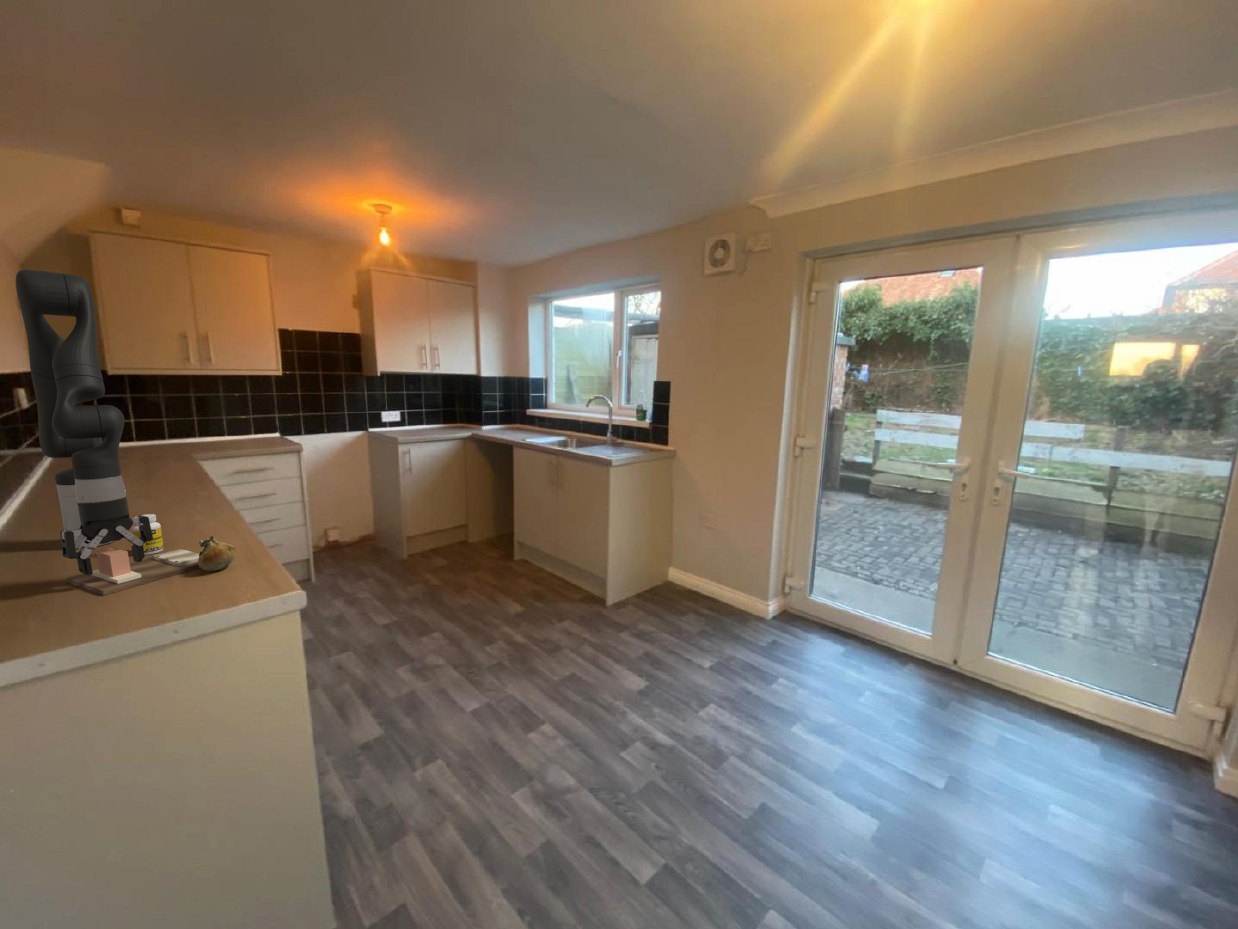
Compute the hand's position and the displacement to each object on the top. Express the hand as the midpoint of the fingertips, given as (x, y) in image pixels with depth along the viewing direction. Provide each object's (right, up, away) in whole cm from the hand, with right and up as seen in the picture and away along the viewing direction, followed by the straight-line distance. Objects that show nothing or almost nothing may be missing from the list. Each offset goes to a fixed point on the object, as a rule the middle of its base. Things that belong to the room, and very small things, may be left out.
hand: (113, 567), depth 110 cm
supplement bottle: (-10, 0, +19) cm, 21 cm away
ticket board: (+2, -2, +5) cm, 6 cm away
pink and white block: (0, -2, 0) cm, 2 cm away
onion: (+17, -2, +8) cm, 19 cm away
